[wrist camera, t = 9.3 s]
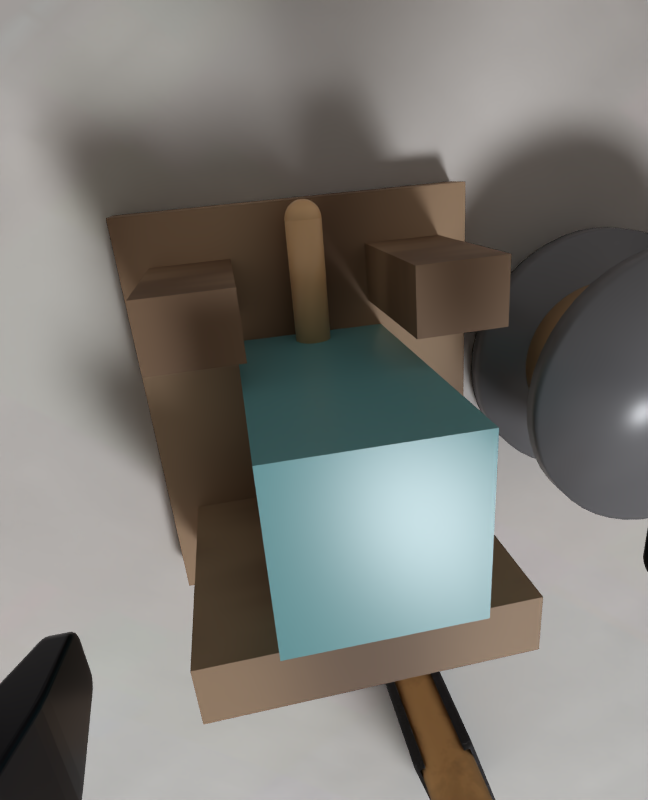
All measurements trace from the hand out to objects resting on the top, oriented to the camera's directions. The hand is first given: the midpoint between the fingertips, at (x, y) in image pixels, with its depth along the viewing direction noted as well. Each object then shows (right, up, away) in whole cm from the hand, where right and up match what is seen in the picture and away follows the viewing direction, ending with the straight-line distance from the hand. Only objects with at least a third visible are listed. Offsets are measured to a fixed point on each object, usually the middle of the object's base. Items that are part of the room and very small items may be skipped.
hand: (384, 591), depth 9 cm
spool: (+7, +5, +10) cm, 13 cm away
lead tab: (-1, +5, +7) cm, 8 cm away
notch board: (-1, +3, +8) cm, 9 cm away
